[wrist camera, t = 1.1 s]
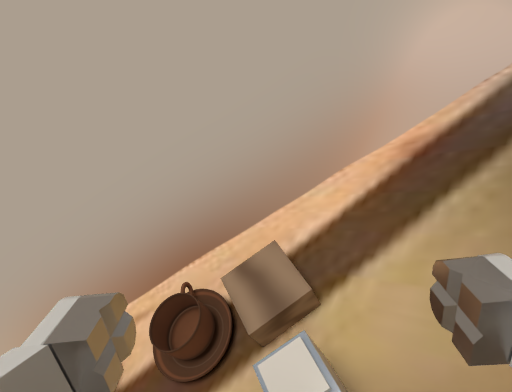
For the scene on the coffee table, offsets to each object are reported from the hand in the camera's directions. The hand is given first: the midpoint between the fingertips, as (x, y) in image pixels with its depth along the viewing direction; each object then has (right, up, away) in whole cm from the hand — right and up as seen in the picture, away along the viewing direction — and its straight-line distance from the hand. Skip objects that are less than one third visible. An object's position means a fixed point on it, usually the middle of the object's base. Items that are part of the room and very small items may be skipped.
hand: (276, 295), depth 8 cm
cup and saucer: (-9, -17, +35) cm, 40 cm away
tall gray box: (+7, -19, +25) cm, 32 cm away
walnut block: (+2, -12, +35) cm, 36 cm away
